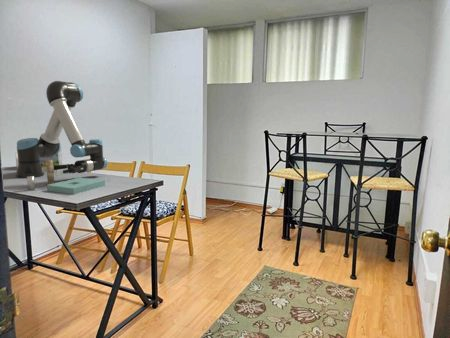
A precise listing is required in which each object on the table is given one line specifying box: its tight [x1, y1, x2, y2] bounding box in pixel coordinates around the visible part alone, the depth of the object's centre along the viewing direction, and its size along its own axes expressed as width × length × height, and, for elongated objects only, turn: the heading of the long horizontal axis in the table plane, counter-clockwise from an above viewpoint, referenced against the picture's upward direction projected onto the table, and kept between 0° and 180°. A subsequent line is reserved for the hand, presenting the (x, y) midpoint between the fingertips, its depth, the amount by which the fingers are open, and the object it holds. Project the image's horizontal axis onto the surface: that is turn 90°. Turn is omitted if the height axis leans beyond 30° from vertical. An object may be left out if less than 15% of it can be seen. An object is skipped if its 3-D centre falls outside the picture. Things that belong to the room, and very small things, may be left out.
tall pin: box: [46, 160, 55, 185], centre depth 176 cm, size 3×3×14 cm
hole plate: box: [46, 177, 106, 195], centre depth 171 cm, size 18×22×3 cm
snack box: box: [40, 148, 63, 167], centre depth 227 cm, size 21×6×15 cm, turn 90°
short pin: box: [26, 176, 36, 191], centre depth 165 cm, size 3×3×7 cm
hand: (49, 171), depth 175 cm, fingers open, 13 cm apart
